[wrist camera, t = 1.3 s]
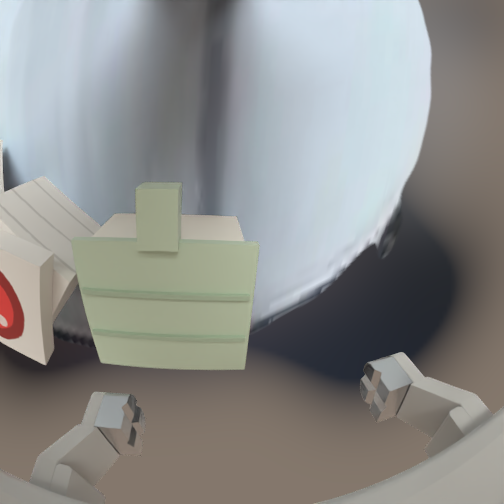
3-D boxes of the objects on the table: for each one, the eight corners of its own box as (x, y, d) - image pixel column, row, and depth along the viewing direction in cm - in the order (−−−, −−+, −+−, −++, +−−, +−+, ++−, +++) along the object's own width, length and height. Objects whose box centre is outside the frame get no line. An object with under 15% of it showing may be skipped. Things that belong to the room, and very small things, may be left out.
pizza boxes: (6, 123, 27) (-70, 136, 11) (126, 232, 38) (80, 300, 22) (-27, 212, 31) (-86, 250, 14) (76, 309, 42) (38, 381, 26)
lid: (76, 183, 25) (61, 190, 21) (261, 186, 28) (267, 193, 25) (105, 350, 34) (99, 367, 31) (242, 356, 37) (245, 374, 34)
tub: (115, 213, 37) (83, 245, 26) (236, 216, 40) (247, 250, 29) (125, 304, 43) (107, 353, 32) (229, 308, 46) (236, 359, 35)
